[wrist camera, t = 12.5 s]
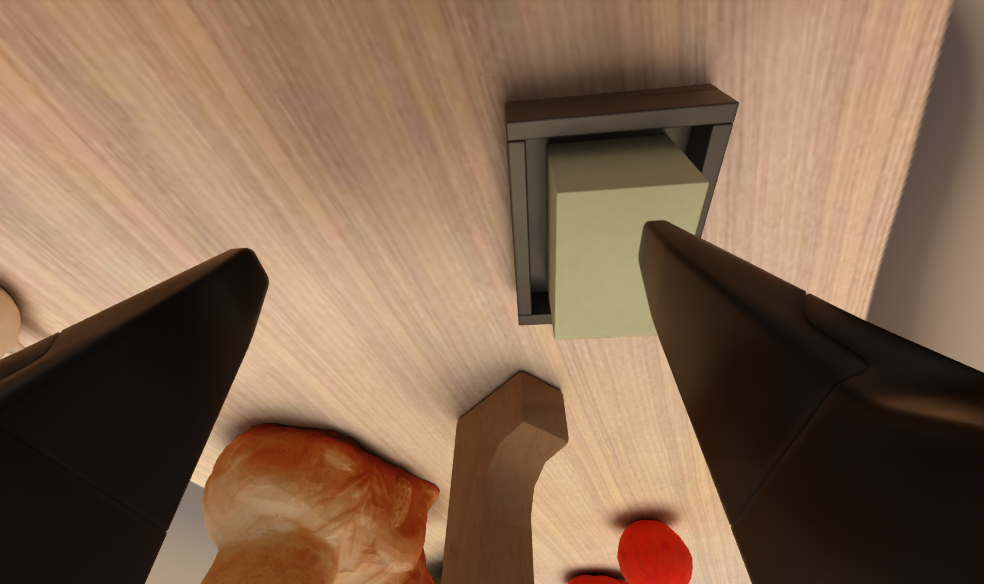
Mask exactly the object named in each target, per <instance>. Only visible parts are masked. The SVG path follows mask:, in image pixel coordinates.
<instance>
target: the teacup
mask: <svg viewBox="0 0 984 584" xmlns="http://www.w3.org/2000/svg"><path fill="white" fill-rule="evenodd" d="M20 325H21V318H20V313H19V310H18V308H17V306H16V305H15V303H14V301H13V299H12V298H11V297H10V296H9V295H8V293H7V292H5V291H4V290H3V289H2V288H1V287H0V360H1V359H2V357H3V356H4V354H5V353H11V354H14V353H16V352H18V351H20V350H22V349H24V348H25V347H24V346H23V345H22V344H21V343H20V342H19V340H18V334H19V330H20Z"/></svg>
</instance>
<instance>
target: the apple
mask: <svg viewBox="0 0 984 584" xmlns="http://www.w3.org/2000/svg"><path fill="white" fill-rule="evenodd" d="M617 558H618V562H619V566H620V570H621V573H622V575H623V576H624V578H625V579H626V580H627V582H628V583H629V584H688V583H689V581H690V579H691V575H692V556H691V554H690V552H689V549H688V548H687V547H686V545H685V544H684V542H683V541H682V540H681V538H680V537H679V536H678V535H677V534H676V533H675V532H674V531H673V530H672V529H671V528H669V527H668V526H667V525H665V524H664V523H662V522H660V521H656V520H639V521H634V522H632V523H631V524H630V525H629V526H628V527H627V528H626V529H625V531H624V532H623V534H622V535H621V538H620V541H619V547H618V555H617Z"/></svg>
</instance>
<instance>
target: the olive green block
mask: <svg viewBox="0 0 984 584" xmlns="http://www.w3.org/2000/svg"><path fill="white" fill-rule="evenodd" d="M708 185H709V181H708V180H707V179H706V178H705V177H704V176H703V175H702V173H701V172H700V171H699V170H698V169H697V168H696V167H695V165H694V164H693V163H692V162H691V161H690V160H689V159H688V158H687V156H686V155H685V154H684V153H683V152H682V151H681V150H680V149H679V147H678V146H677V145H676V144H675V143H674V142H673V141H672V139H671V138H670V137H669V136H668V135H667V134H666V135H653V136H641V137H629V138H616V139H604V140H592V141H579V142H567V143H555V144H546V276H547V286H548V293H549V301H550V309H551V317H552V324H553V332H554V339H555V340H567V339H589V338H611V337H634V336H656V335H658V334H657V332H656V329H655V326H654V323H653V320H652V317H651V313H650V309H649V305H648V301H647V296H646V292H645V288H644V284H643V279H642V275H641V271H640V266H639V261H638V253H639V247H640V241H641V235H642V230H643V226H644V224H645V223H646V222H647V221H655V220H666V221H668V222H670V223H672V224H674V225H676V226H678V227H680V228H682V229H684V230H686V231H688V232H689V233H691V234H693V235H695V233H696V229H697V226H698V222H699V218H700V215H701V211H702V207H703V204H704V200H705V196H706V193H707V189H708Z"/></svg>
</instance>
